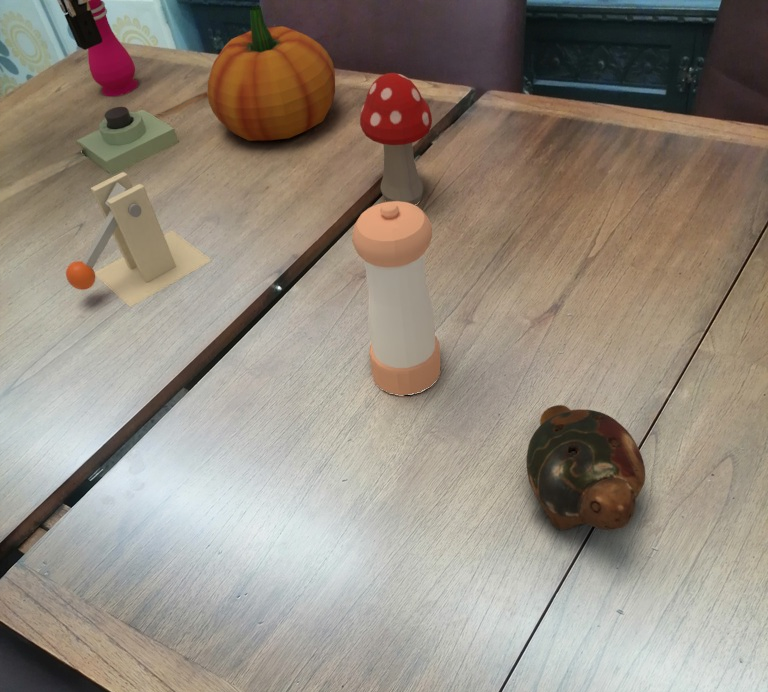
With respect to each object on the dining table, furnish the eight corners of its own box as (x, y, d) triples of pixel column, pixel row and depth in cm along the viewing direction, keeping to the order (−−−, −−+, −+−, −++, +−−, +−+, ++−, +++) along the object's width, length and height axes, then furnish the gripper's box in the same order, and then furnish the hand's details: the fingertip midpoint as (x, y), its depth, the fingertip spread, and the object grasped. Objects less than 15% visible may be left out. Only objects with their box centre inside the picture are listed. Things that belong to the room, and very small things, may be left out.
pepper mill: (122, 84, 122) (69, -56, 106) (152, 90, 120) (102, -53, 103) (94, 103, 119) (34, -38, 103) (124, 110, 116) (67, -34, 100)
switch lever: (91, 298, 83) (68, 286, 80) (79, 287, 85) (56, 275, 82) (147, 203, 81) (124, 188, 78) (134, 194, 82) (111, 178, 80)
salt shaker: (452, 360, 74) (447, 190, 58) (420, 405, 71) (405, 239, 55) (394, 341, 77) (374, 174, 61) (360, 384, 73) (329, 219, 58)
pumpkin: (262, 168, 101) (233, 54, 89) (197, 126, 110) (163, 18, 98) (365, 115, 107) (351, 2, 94) (294, 80, 116) (274, -28, 104)
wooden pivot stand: (134, 314, 84) (90, 227, 75) (96, 280, 89) (51, 194, 80) (215, 268, 88) (183, 179, 78) (175, 238, 93) (140, 150, 83)
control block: (112, 175, 104) (100, 149, 101) (82, 154, 109) (70, 128, 106) (179, 142, 108) (169, 115, 105) (147, 122, 113) (138, 97, 110)
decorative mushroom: (448, 203, 91) (444, 80, 79) (389, 226, 89) (376, 104, 77) (414, 170, 96) (405, 50, 84) (358, 190, 95) (341, 71, 83)
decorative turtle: (567, 581, 58) (570, 524, 51) (499, 457, 67) (495, 397, 61) (675, 543, 58) (692, 483, 52) (592, 426, 68) (598, 362, 61)
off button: (116, 132, 104) (111, 121, 103) (105, 125, 106) (100, 113, 104) (136, 123, 105) (132, 111, 104) (125, 116, 107) (120, 104, 106)
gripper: (-33, -127, 84) (44, 42, 99) (15, -110, 77) (91, 69, 92) (22, -145, 87) (90, 22, 102) (75, -131, 79) (139, 47, 94)
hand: (90, 44), depth 97 cm, fingers closed
